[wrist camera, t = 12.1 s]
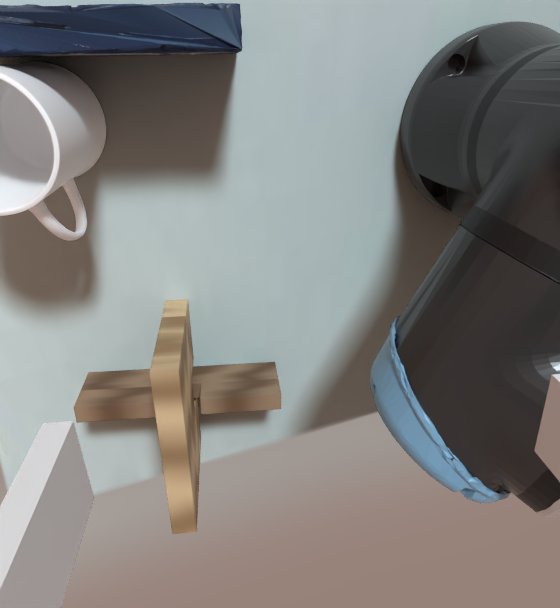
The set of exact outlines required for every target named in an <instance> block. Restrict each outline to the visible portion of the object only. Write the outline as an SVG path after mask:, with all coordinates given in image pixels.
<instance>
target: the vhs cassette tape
mask: <svg viewBox="0 0 560 608" xmlns="http://www.w3.org/2000/svg"><path fill="white" fill-rule="evenodd" d="M241 38H242V29H241V14H240V4H225V3H220V4H213V3H211V4H206V5H205V4H203V3H173V4H154V5H143V4H100V5H79V6H77V7H71V6H68V5H67V6H39V5H29V4H27V5H22V6H4V5H0V57H64V56H124V55H179V54H191V55H194V54H233V53H238V52H240V51H241V50H242V42H241Z"/></svg>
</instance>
